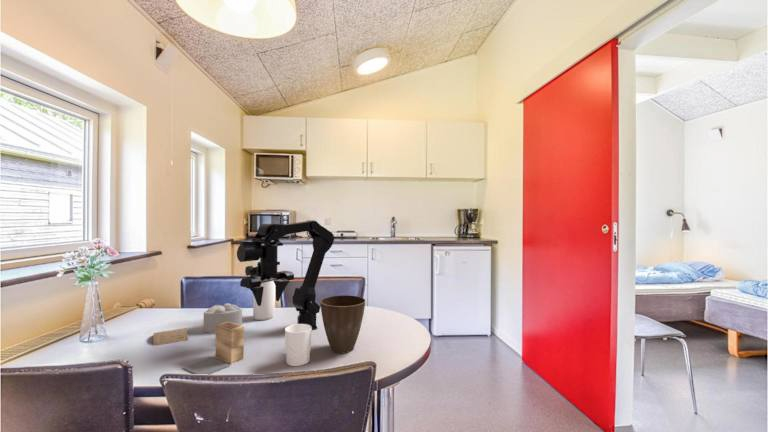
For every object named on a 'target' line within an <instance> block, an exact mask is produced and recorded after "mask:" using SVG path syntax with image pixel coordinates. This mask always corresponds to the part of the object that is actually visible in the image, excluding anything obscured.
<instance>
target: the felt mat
mask: <svg viewBox="0 0 768 432" xmlns="http://www.w3.org/2000/svg"><path fill="white" fill-rule="evenodd" d="M228 366H229V367H231V364H229V363H227V362H224V361H222V360H220V359H217V358H213V357H211V356H209V357H207V358H204V359H202V360H201V359H200V360H199V361H196V362H193V363H190V364H188V365H184V366H183V367H182V369H183V370H185V371H188V372H190V373H191V374H194V375H195V374H210V375H211V373H212V374H214V373H213V372H215V373H216V371H217V372H220V371H222V370H223V368H224V369H227V368H229V367H228ZM226 367H227V368H226ZM221 369H222V370H221Z"/></svg>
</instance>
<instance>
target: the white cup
mask: <svg viewBox="0 0 768 432" xmlns="http://www.w3.org/2000/svg"><path fill="white" fill-rule="evenodd" d="M312 330H313V329H312V326H310V325H308V324H297V323H296V324H294V323H293V324H291V325H288V326H287V327H285V328H284V340H285V341H284V343H285V344H284V345H285V357H286V364H287V365H288V366H292V367H299V366H304V365H306V364H308V363H309V362H310V361H311V360H310V356H311V355H310V354H311V348H312V347H311V346H312V332H313V331H312Z"/></svg>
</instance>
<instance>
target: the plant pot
mask: <svg viewBox="0 0 768 432" xmlns="http://www.w3.org/2000/svg"><path fill="white" fill-rule="evenodd" d="M365 307H366V299H365V298H364V297H361V296H359V295H358V296H357V295H349V294H346V295H345V294H344V295H341V294H340V295H331V296H326V297H324V298H322V299H320V310H321V311H320V312H321V316H322V317H321V318H322V322H323V328H324V331H325V335H326V338H327V341H328V345H329V348H330V350H331V351H332V352H334V353H336V354H345V353H350V352H352V351H353V350H354V349H355V346H356V343H357V340H358V338H359V335H360V331H361V328H362V327H361V326H362V323H363V319H364V318H363V317H364V313H365Z"/></svg>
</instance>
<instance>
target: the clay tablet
mask: <svg viewBox="0 0 768 432" xmlns="http://www.w3.org/2000/svg"><path fill="white" fill-rule="evenodd" d="M152 335H153V337H152V338H153V346H154V347H157V346H163V345H169V344H175V343H181V342H187V341H188V340H189V338H188V331H187V328H186V327H184V328H179V329H172V330H164V331H157V332H153V334H152Z"/></svg>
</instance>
